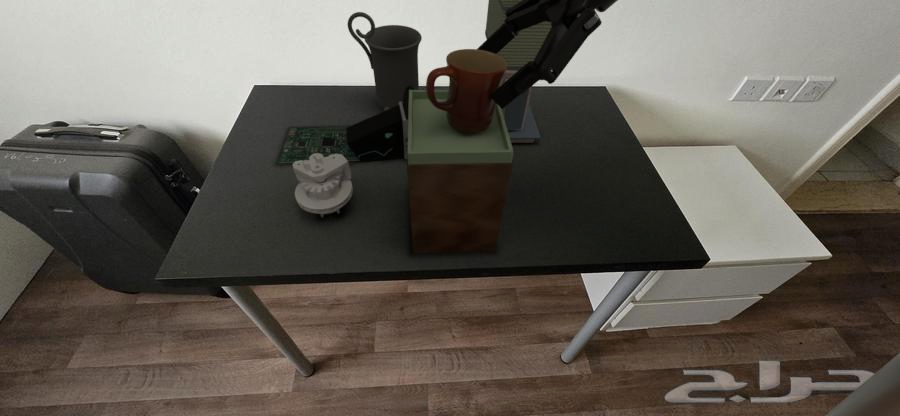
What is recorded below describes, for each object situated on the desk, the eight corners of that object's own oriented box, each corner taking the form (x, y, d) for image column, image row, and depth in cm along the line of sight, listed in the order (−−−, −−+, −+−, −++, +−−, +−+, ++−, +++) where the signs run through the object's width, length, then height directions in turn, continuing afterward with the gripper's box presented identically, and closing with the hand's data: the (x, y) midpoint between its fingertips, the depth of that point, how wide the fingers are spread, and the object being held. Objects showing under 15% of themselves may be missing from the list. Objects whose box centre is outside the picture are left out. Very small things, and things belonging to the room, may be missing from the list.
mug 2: (478, 108, 63) (487, 46, 56) (505, 133, 58) (520, 69, 51) (413, 118, 58) (415, 53, 52) (437, 147, 53) (442, 78, 46)
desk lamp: (539, 147, 92) (576, 8, 68) (483, 148, 91) (501, 6, 67) (525, 107, 105) (553, -23, 80) (476, 107, 104) (489, -25, 80)
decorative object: (349, 144, 90) (339, 88, 79) (422, 138, 93) (422, 84, 82) (350, 166, 85) (340, 109, 74) (428, 158, 88) (428, 103, 77)
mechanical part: (304, 232, 72) (286, 189, 63) (299, 191, 79) (283, 148, 70) (361, 219, 74) (352, 176, 66) (352, 180, 82) (342, 137, 73)
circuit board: (366, 160, 87) (365, 158, 86) (278, 163, 85) (277, 161, 84) (369, 126, 96) (369, 124, 95) (290, 128, 94) (289, 126, 93)
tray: (494, 100, 66) (496, 89, 64) (511, 163, 54) (513, 151, 53) (409, 100, 65) (409, 89, 63) (408, 164, 53) (407, 153, 52)
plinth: (483, 187, 82) (495, 99, 66) (494, 251, 70) (513, 163, 54) (413, 188, 81) (408, 100, 65) (413, 253, 69) (406, 165, 53)
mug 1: (426, 91, 109) (425, -1, 90) (431, 120, 99) (430, 23, 80) (362, 94, 107) (347, 0, 88) (360, 123, 97) (343, 25, 78)
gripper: (670, 27, 42) (520, 140, 51) (588, -37, 58) (486, 58, 68) (647, -26, 37) (487, 108, 47) (565, -79, 54) (459, 28, 63)
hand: (486, 78), depth 57 cm, fingers open, 13 cm apart
